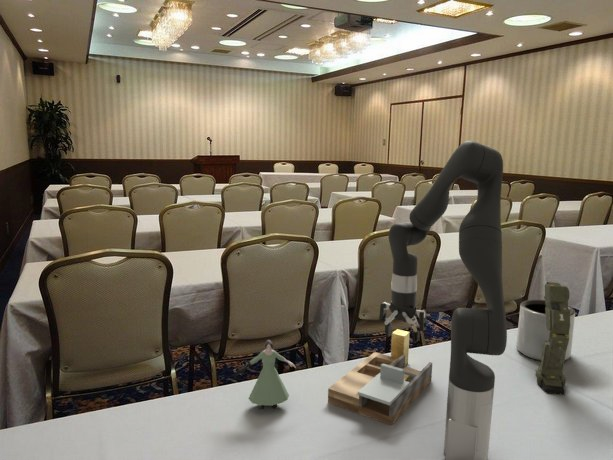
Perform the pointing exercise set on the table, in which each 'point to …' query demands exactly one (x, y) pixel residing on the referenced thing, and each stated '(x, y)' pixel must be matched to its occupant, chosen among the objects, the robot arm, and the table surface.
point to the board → (378, 406)
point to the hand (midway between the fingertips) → (401, 338)
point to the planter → (537, 329)
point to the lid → (385, 385)
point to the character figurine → (267, 379)
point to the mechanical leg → (555, 339)
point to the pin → (400, 344)
